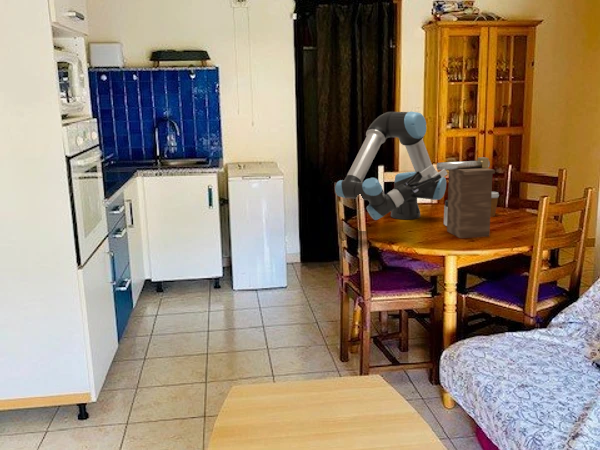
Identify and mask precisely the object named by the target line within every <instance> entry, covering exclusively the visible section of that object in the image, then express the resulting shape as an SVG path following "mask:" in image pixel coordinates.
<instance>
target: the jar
mask: <svg viewBox="0 0 600 450" xmlns="http://www.w3.org/2000/svg"><path fill="white" fill-rule="evenodd" d="M443 208H444V209H443V225H444V226H446V227H447V215H448V199H446V200H445V201H444V206H443Z"/></svg>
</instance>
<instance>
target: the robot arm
mask: <svg viewBox="0 0 600 450" xmlns="http://www.w3.org/2000/svg"><path fill="white" fill-rule="evenodd" d="M426 133H427V122H426V118H425V117H424V115H423V114H422V113H421V112H417V111H387V112H384V113H383V114H380V115H379V116H377V118H375V119H374V120H373V121H372V123H371V124H369V127H368V128H367V130H366V132H365V136H366V137H365V139H364V141H363V143H362V145H361V147H360V149H359V151H358V153H357V155H356V157H355V159H354V161H353V162H352V165H351V167H350V169H349V170H348V172H347V174H346V176H345V178H344V180H343V179H342V180H341V179H340V180H338V181H337V182H336V183H335V186H334V191H335V192H334V193H335V194H336V196H337V197H340V198H344V199H355V200H357V199H356V197H357V195H359V194H361V196H362V198H363V199H364V200H363V201H368V202H369V204H368V205H367V206H366V210H367V212H368V214H369V216H370V217H371V219H373V220H374V221H378V220H379V219H381V218H384V217H385V216H386V215H387V214H389V213H390V217H391V218H393V219H398V220H415V219H419V218H420V217H421V211H420V207H419V203H418V199H425V200H433V201H434V200H435V201H436V200H441V199H442V198H443V197H444V196H445V193H446V189H447V179H446V176H447V175H449V172H448V170H445V169H443V170H439V171H438V170H437V169H436V168H435V166H434V164H432V161H431V159H430V155H429V153H428V150H427V148H426V144H425V142H424V136H425V135H426ZM388 138H398V140H399V143H400V144H401V145H402V146H404V147H405V149H406V152H407V154H408V157H409V159H410V161H411V164H412V167H413V170H414V171H407V172H405V171H404V172H400V173H396V175H395V177H394V183H393V184H394V188H393V189H392V190H390V191H388V192H387V193H385V191H384V189H383V187H382V184H381V183H380V181H379V179H378V178H376V177H370V178H366V179H365V177H366V175H367V173H368V172H369V169H370V168H371V165H372V163H373V160H375V157H376V155H377V153H378V151H379V150H380V147H381V145H382V144H384V143H385V142H386V140H387V139H388ZM364 179H365V180H364Z"/></svg>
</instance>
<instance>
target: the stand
mask: <svg viewBox="0 0 600 450" xmlns="http://www.w3.org/2000/svg"><path fill="white" fill-rule="evenodd" d="M446 171H448V189H447V194H448V195H447V200H448V215H447V226H446V231H447V232H448V233H449V234H450V235H453V236H455V237H457V238H458V239H468V238H469V239H470V238H483V237H490V232H491V231H490V230H491V217H490V215H491V195H492V190H493V176H494V175H493V174H496V170H495V169H492V168H489V167H488V168H467V169H447V170H446Z"/></svg>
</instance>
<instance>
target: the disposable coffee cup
mask: <svg viewBox="0 0 600 450" xmlns="http://www.w3.org/2000/svg"><path fill="white" fill-rule="evenodd" d="M499 196H500V194H499V192H497V191H492V195H491V215H490V218H492V217H495V215H496V212H497V205H498V200H499Z"/></svg>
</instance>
